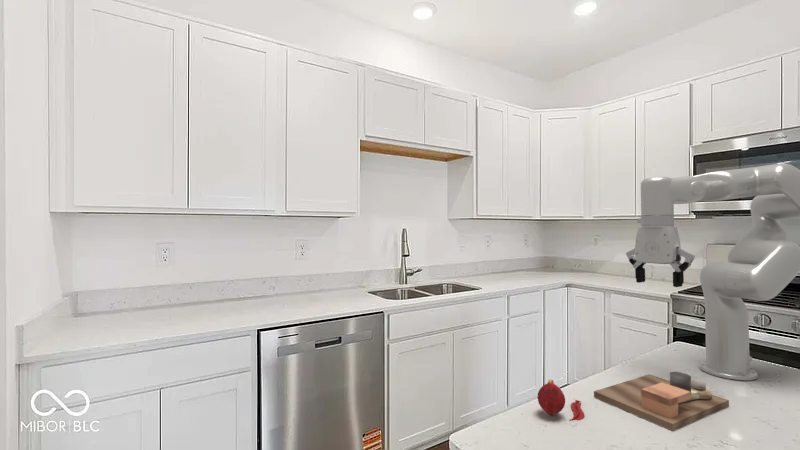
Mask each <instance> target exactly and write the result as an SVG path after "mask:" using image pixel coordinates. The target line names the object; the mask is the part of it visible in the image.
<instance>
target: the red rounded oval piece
mask: <svg viewBox="0 0 800 450" xmlns="http://www.w3.org/2000/svg"><path fill="white" fill-rule="evenodd" d="M554 381H555V380H554V379H553V378H550V379H548V382H547V383H545V384H543V385H542V386H541V387H540V388H539V390H538V392H537V401H538V405H539V407H540V409H542V410H543V411H544V412H545V413H546V414H548V415H549V416H551V417H553V416H555V415H557V414H559V413H560V412H562V411H563V409H564V408H565V406H566V405H565V404H566V397H565V394H564V392H563V390H562V389H561V388H560V387H559V386H558V385H556V384H555V383H554Z"/></svg>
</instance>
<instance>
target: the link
mask: <svg viewBox="0 0 800 450" xmlns="http://www.w3.org/2000/svg"><path fill="white" fill-rule="evenodd" d="M669 381H670V385H672V386H675V387H678V388H681V389H684V390H687V391H690V392H691V399H689V400H686V401H690V400H694V399H699V398H700V399H711V398H712V395H713V390H712V389H711V388H709V387H708V386H706V389H696V388H693V387H692V386H691V381H692V376H691V375H690V374H688V373H685V372H681V371H670V372H669ZM683 402H685V401H683Z"/></svg>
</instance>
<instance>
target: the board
mask: <svg viewBox="0 0 800 450" xmlns="http://www.w3.org/2000/svg"><path fill="white" fill-rule="evenodd" d="M661 382H662V383H665V384H669V385H670V379H666V378H663V377H658V376H656V375H654V374H651V373H650V374H645V375H643V376H640V377H636V378H632V379H629V380H626V381H623V382H620V383H616V384H614V385H611V386H607V387H604V388H599V389H597V390H594V391H593V398H595V399H597V400H599V401H602V402H604V403H606V404H609V405H611V406H612V407H613V406H614V407H615V408H618V409H620V410H622V411H625V412H628V413H629V414H632V415H634V416H636V417H639V418H641V419H644V420H646V421H648V422H649V423H650V422H651V423H653V424H655V425H657V426H660V427H662V428H664V429H666V430H669V431H671V432H674V431H676V430H679V429H681V428H683V427H686V426H688V425H690V424H692V423H695V422H698V421H699V420H702V419H704V418H706V417H709V416H710V415H711V416H712V415H713V414H715V413H718V412H720V411H722V410H724V409H726V408H729V407H730V400H729V399H727V398H724V397H721V396H717V395H714V394H712V398H711V399H700V398H699V399H694V400H690V401H685V402H681V403H678V416H675V417H673V418H668V417H665V416H663V415H661V414H658V413H656V412H653V411H651V410H648V409H646V408H643V407H642V399H641V389H643V388H646V387H649V386H652V385H655V384H658V383H661ZM691 386H692V387H693V388H696V389H706V387H707V384H706V383H705V382H703V381H701V380H691Z"/></svg>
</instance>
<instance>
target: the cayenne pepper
mask: <svg viewBox="0 0 800 450" xmlns="http://www.w3.org/2000/svg"><path fill="white" fill-rule="evenodd" d="M581 405H582V401H581V400H578V399H577V400H576V399H575V401H573V402H571V403H570V408H571V411H572V412H573V417H572V418H571V419H569V422H570V421H581V420H583V419H585V413H584V411H583V410H582V407H581Z"/></svg>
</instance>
